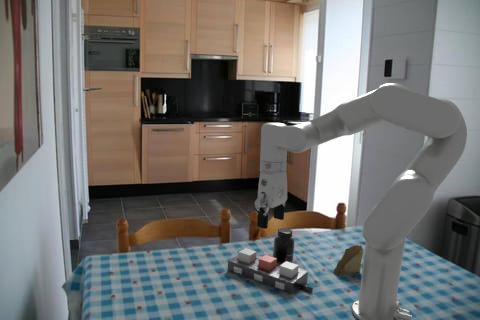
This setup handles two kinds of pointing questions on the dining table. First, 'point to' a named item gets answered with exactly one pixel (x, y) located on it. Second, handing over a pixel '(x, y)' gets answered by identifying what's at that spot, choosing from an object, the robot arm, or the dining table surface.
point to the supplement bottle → (284, 246)
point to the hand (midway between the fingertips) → (270, 223)
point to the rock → (350, 261)
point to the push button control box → (269, 275)
